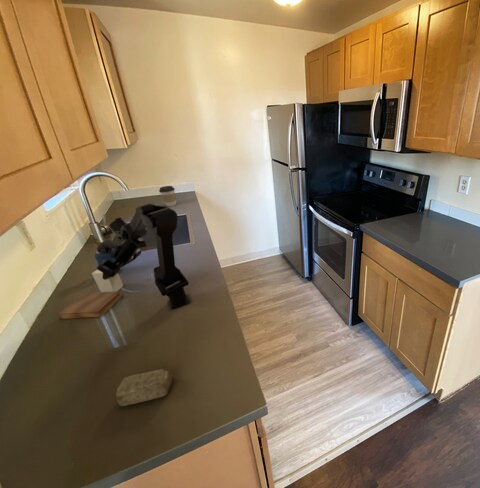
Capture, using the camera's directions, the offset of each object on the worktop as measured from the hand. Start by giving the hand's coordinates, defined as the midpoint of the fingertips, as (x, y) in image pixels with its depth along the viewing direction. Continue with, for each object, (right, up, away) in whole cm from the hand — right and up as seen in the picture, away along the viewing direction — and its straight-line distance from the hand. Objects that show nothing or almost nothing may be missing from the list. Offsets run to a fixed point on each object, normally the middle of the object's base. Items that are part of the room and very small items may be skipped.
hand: (111, 273), depth 113 cm
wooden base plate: (-2, -13, -7) cm, 14 cm away
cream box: (-2, -8, +4) cm, 9 cm away
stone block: (+42, -27, -41) cm, 65 cm away
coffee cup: (-40, +44, +116) cm, 130 cm away
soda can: (-12, -2, +17) cm, 21 cm away
